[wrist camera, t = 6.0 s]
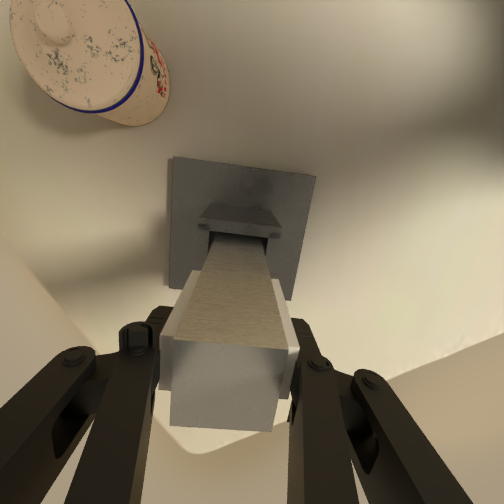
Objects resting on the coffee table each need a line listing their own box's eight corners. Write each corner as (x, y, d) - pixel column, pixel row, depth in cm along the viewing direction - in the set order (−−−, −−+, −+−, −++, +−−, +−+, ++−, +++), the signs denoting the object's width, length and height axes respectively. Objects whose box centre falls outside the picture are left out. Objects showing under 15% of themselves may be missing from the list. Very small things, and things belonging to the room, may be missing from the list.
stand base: (176, 157, 29) (141, 151, 19) (312, 175, 30) (346, 179, 20) (171, 283, 34) (142, 331, 24) (288, 295, 35) (307, 345, 25)
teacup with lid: (189, 102, 27) (153, 57, 16) (120, 144, 28) (42, 129, 17) (121, -26, 24) (15, -196, 13) (45, 27, 25) (-114, -86, 14)
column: (219, 225, 26) (173, 339, 9) (258, 230, 26) (289, 349, 9) (215, 269, 27) (168, 440, 10) (252, 273, 27) (268, 446, 10)
